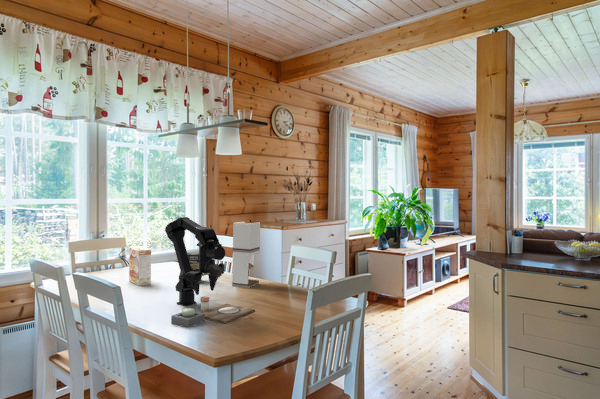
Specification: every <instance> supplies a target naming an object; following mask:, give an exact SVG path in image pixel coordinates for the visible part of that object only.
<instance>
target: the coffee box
mask: <svg viewBox="0 0 600 399" xmlns="http://www.w3.org/2000/svg"><path fill="white" fill-rule="evenodd" d="M187 254H188V258H189V261H190V265H191V268H192V269H193V270H194V269H196V270H197V269H198V268H199V262H197V259H199V252H191V253H190V252H187ZM197 272H199V271H197ZM200 280H202V278H201V279H200Z"/></svg>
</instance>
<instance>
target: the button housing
mask: <svg viewBox="0 0 600 399" xmlns="http://www.w3.org/2000/svg"><path fill="white" fill-rule="evenodd" d="M170 319H171V320H170V322H171V324H173V325H177V326H180V327H185V328H190V327H194V326H195V325H198V324H201V323H204V322H205V320H206V319H205V314H203V313H201V312H197V311H195V315H194V316H190V317H184V316H182V311H181V312H178V313H175V314H173V315H171V316H170Z"/></svg>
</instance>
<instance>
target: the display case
mask: <svg viewBox="0 0 600 399" xmlns="http://www.w3.org/2000/svg"><path fill="white" fill-rule="evenodd" d="M232 224H233V225H232V227H233V229H232V230H233V231H232V232H233V233H232V272H231V273H232V274H231V276H232V280H231V283H232V284H231V287H236V288H242V287H244V288H243V289H251V288H253V287H255V286H254V285H256V284H258V285H260V280H258V279H251V278H249V270H251V269H253V268H254V266H255V255H257V254H260V251H261V249H260V248H261V247H260V246H261V222H258V221H257V222H249V223H248V222H246V221H239V222H238V221H236V222H232ZM252 286H253V287H252ZM256 286H257V285H256ZM250 287H251V288H250Z"/></svg>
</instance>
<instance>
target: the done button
mask: <svg viewBox="0 0 600 399" xmlns="http://www.w3.org/2000/svg"><path fill="white" fill-rule="evenodd" d="M181 312H182V316H184V317H190V316H194V315H195V312H196V311H195V309H194V308H183V309H182V310H181Z"/></svg>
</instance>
